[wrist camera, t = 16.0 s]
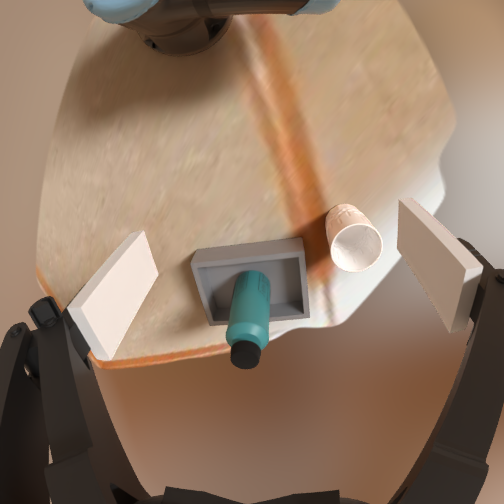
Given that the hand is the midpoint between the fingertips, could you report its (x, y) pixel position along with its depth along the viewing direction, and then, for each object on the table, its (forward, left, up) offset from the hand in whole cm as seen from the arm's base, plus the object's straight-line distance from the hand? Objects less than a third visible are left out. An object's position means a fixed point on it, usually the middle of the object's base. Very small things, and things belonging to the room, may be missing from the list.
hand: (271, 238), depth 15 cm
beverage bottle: (+24, -7, -34) cm, 42 cm away
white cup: (+15, +10, -35) cm, 39 cm away
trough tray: (+24, -7, -35) cm, 43 cm away
